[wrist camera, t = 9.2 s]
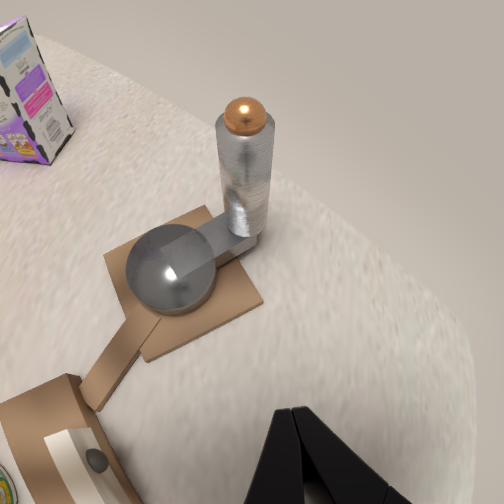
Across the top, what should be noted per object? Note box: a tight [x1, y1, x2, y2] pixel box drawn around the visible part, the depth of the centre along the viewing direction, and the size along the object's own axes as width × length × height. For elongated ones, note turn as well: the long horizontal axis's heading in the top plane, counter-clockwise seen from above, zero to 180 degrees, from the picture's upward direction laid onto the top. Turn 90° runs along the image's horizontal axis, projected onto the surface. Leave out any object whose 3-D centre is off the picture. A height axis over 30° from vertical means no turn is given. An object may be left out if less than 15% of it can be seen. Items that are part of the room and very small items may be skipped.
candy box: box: [0, 15, 75, 165], centre depth 23 cm, size 14×6×16 cm, turn 76°
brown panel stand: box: [0, 205, 263, 504], centre depth 16 cm, size 22×22×5 cm
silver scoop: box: [126, 97, 275, 315], centre depth 17 cm, size 10×6×11 cm, turn 124°
